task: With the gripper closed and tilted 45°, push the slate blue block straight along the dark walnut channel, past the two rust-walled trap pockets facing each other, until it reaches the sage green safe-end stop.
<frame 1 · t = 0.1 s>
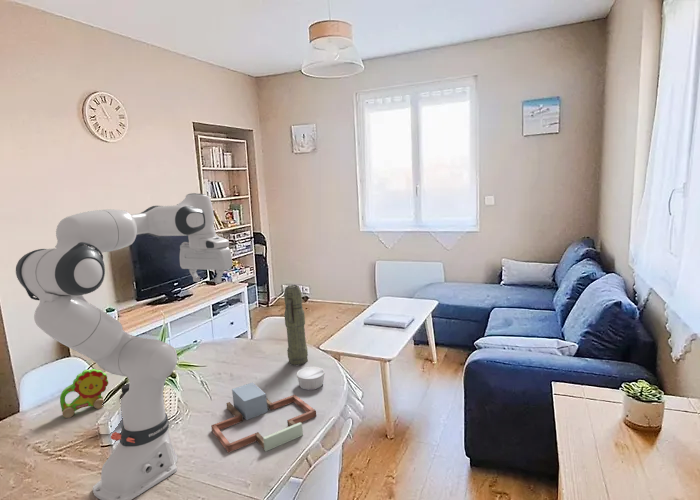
hand: (207, 282, 148), 48 cm above the table, tool pointing down, fingers open, 8 cm apart
green carved statue: (298, 362, 196), on the table
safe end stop: (284, 442, 135), on the table
supplement bottle: (133, 417, 156), on the table
slate block: (250, 409, 156), on the table
toy lion: (87, 410, 163), on the table
ramekin: (311, 385, 173), on the table
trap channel: (265, 423, 146), on the table
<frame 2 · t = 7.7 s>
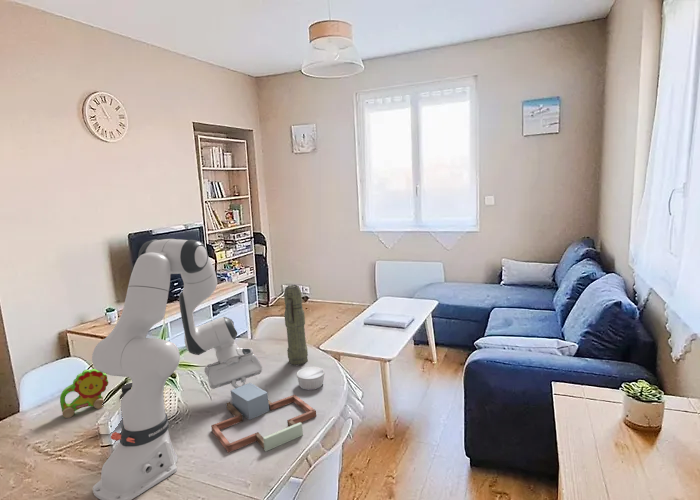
hand: (242, 391, 161), 4 cm above the table, tool tilted 45°, fingers closed
slate block: (250, 409, 156), on the table, touching gripper
everything else where it was.
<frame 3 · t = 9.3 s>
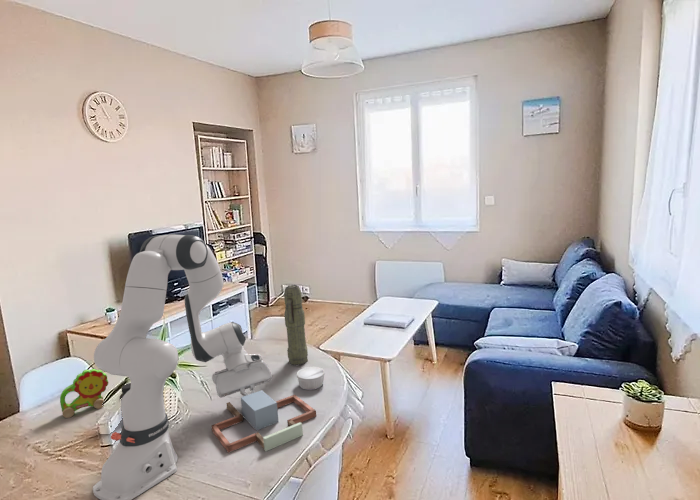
hand: (251, 399, 154), 4 cm above the table, tool tilted 45°, fingers closed, pressing on slate block
slate block: (260, 418, 149), on the table, touching gripper
everything else where it was.
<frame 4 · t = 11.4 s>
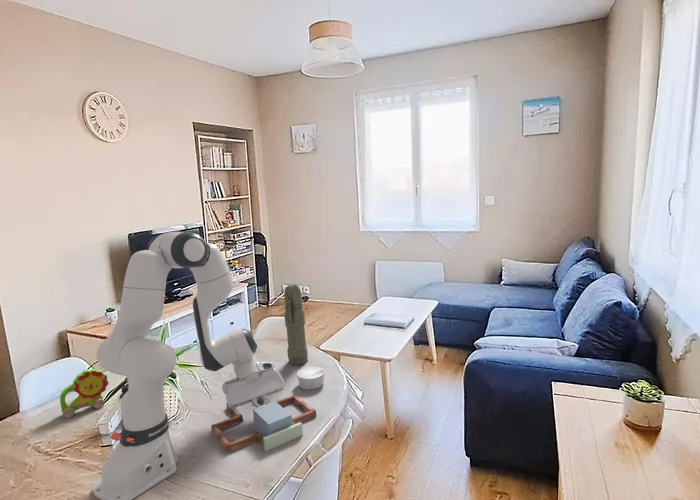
hand: (263, 410, 146), 5 cm above the table, tool tilted 45°, fingers closed, pressing on slate block
slate block: (273, 431, 141), on the table, touching gripper
everything else where it was.
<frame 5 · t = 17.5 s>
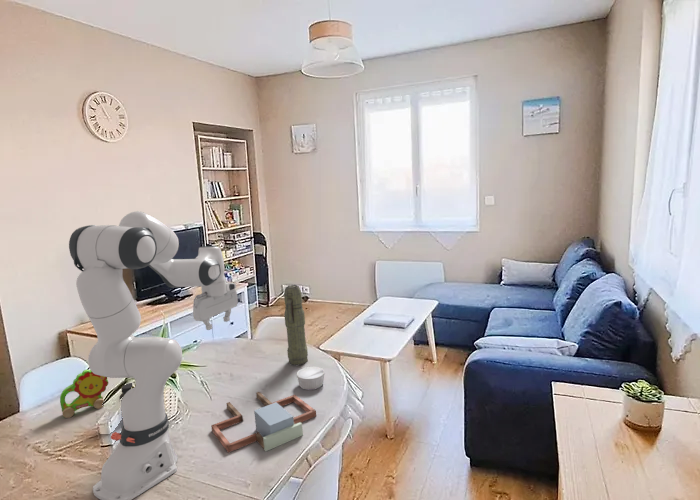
hand: (218, 325, 161), 29 cm above the table, tool pointing down, fingers open, 8 cm apart
slate block: (275, 433, 140), on the table
everything else where it was.
at the end: slate block 6.7 cm from the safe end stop (horizontally); slate block tilted 0°; the gripper is holding nothing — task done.
